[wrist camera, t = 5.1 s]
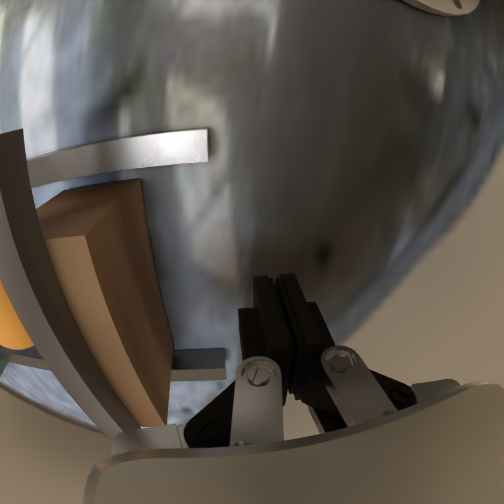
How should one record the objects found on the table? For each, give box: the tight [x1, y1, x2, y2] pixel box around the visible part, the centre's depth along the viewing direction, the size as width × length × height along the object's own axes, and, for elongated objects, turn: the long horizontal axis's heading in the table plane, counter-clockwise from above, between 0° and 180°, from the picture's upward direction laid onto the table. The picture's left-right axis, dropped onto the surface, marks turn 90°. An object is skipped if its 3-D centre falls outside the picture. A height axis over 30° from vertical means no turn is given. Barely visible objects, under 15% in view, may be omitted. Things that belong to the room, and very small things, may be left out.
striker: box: [0, 129, 174, 441], centre depth 10 cm, size 4×16×7 cm, turn 0°
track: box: [0, 127, 227, 381], centre depth 12 cm, size 20×14×2 cm
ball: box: [0, 281, 34, 350], centre depth 10 cm, size 5×5×5 cm
